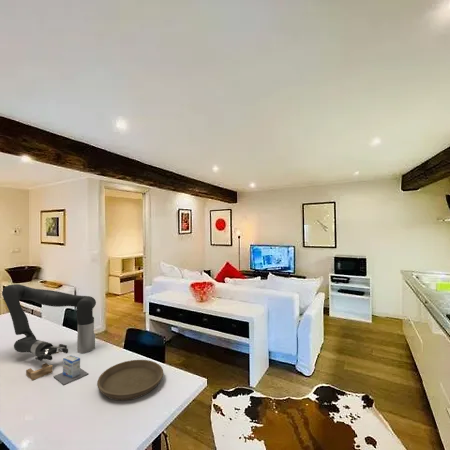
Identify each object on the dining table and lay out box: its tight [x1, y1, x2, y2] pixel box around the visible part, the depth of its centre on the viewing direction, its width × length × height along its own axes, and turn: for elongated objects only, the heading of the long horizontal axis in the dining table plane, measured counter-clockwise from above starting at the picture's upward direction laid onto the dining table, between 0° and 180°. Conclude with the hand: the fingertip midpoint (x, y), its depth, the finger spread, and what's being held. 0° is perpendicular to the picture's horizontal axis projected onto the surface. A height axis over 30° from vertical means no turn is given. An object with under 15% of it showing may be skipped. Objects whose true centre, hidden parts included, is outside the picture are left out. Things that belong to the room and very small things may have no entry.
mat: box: [53, 367, 89, 386], centre depth 136 cm, size 12×12×1 cm
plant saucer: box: [96, 359, 164, 401], centre depth 130 cm, size 31×31×5 cm
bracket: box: [25, 362, 54, 381], centre depth 138 cm, size 9×9×4 cm
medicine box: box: [62, 354, 81, 378], centre depth 136 cm, size 8×4×9 cm, turn 65°
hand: (59, 354), depth 140 cm, fingers open, 8 cm apart
